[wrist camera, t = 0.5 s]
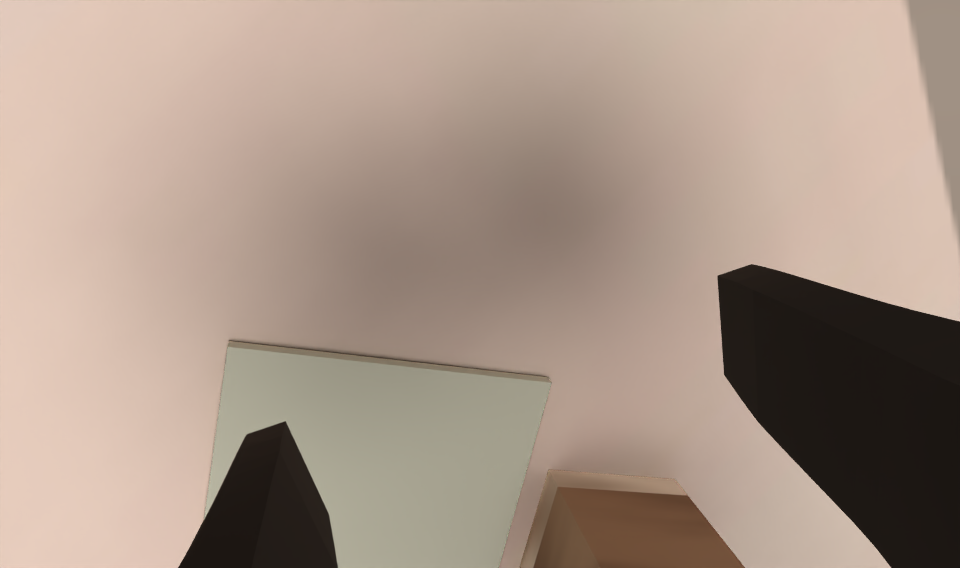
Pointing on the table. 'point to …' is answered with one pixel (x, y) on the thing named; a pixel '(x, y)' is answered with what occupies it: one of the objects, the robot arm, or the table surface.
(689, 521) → the walnut block
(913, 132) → the table surface
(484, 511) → the sage mat
